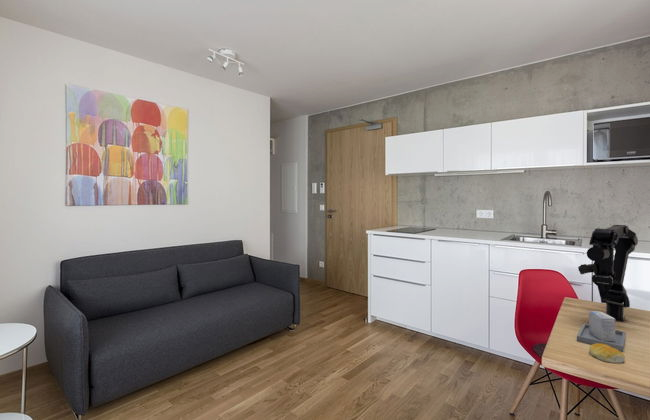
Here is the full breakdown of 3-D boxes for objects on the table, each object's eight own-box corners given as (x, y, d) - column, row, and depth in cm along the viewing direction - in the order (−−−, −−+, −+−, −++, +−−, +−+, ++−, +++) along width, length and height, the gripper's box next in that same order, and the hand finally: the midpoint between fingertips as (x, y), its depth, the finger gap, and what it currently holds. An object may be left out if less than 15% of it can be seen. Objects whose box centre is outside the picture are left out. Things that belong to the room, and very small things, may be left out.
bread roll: (605, 351, 113) (605, 339, 113) (630, 364, 104) (630, 351, 104) (581, 351, 113) (582, 339, 113) (604, 364, 104) (605, 351, 104)
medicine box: (615, 342, 118) (616, 318, 118) (601, 341, 119) (601, 317, 119) (601, 333, 126) (602, 311, 125) (588, 332, 127) (589, 310, 126)
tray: (583, 328, 133) (583, 323, 133) (625, 337, 124) (625, 332, 124) (576, 341, 120) (576, 335, 120) (623, 352, 112) (623, 346, 112)
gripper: (582, 254, 148) (582, 288, 149) (576, 259, 135) (575, 297, 135) (615, 257, 140) (614, 293, 141) (612, 262, 127) (611, 302, 127)
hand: (603, 296), depth 136 cm, fingers open, 9 cm apart
